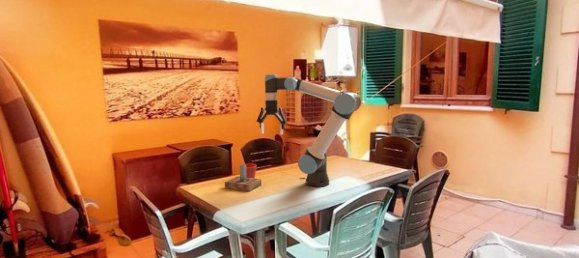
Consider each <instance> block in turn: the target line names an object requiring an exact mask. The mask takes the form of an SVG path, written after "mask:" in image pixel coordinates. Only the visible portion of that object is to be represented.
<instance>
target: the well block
mask: <svg viewBox="0 0 579 258" xmlns="http://www.w3.org/2000/svg"><path fill="white" fill-rule="evenodd" d="M239 180H240V175H239V176H235V177H233V178H231V179H228V180H226V181H224V189H228V190H234V191H235V190H236V191H240V192H241V191H242V192H252V191H253V190H255V189H257V188H259V187H262V179H260V178H256V177H255V178H247V180H249V181H247V182H245V183H244V182H238V181H239Z"/></svg>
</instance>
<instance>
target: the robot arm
mask: <svg viewBox="0 0 579 258" xmlns="http://www.w3.org/2000/svg"><path fill="white" fill-rule="evenodd" d="M278 91H297V92H300V93H302V94H306V95H310V96H313V97H316V98H319V99H322V100H324V101H325V100H326V101H329V102H332V103H333V105H332V107H331V114H330V116H329V118H327V120H326V122H325V124H324V126H323V127H322V129H321V131H320V132H319V134H318V135H317V137H316V139H315V140H314V142H313V144H312V145H311V146H308V147H307V149H305V152H304V153H303V155H301V156H300V157H299V159H298V161H297V166H298V168H299V170H300V171H301V173H303V174H306V178H305V184H306V185H307V186H309V187H315V188H316V187H317V188H319V187H326V186H329V185H330V179H329V175H328V171H327V166H328V163H327V161H328V159H327V158H328V156H327V155H328V151H327V150H328V149H329V147H330V145H331V144H332V142H333V141H334V139H335V137H336V136H337V134H338V132H339V131H340V130H341V128H342V127H343V125H344V124H345V122H346V121H349V120H350V119H351V117H352V115H353V114H354V112H357V111H358V109H359V108H361V104H362V99H361V96H360V95H359V94H357V93H356V92H353V91H347V90H337V89H334V88H331V87H327V86H324V85H320V84H316V83H314V82H311V81H307V80H304V79H301V78H299V77H294V76H293V77H292V76H288V77H285V76H284V77H278V74H275V73H273V74H269V73H268V74H265V75H264V93H265V94H264V99H265V103H264V105H265V106H264V107H260V111H259V115H258V117H257V120H256V122H257V123H259V128H260V134H264V133H265V120H266V118H268V116H270V115H271V116H275V117H276V119H277V120H278V121H279V122H280V124H279V135H281V136H282V135H284V129H285V124H288V121H287V118H286V116H285V113H284V111H283V108H282V107H278Z"/></svg>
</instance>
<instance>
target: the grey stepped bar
mask: <svg viewBox="0 0 579 258" xmlns="http://www.w3.org/2000/svg"><path fill="white" fill-rule="evenodd" d="M245 164H246V163H242V164H239V167H238V168H239V177H240V180H239V181H238V182H244V183H245V182H247V181H249V180H247V176H246V165H245Z"/></svg>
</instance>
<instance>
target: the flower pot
mask: <svg viewBox="0 0 579 258" xmlns="http://www.w3.org/2000/svg"><path fill="white" fill-rule="evenodd" d="M244 164H245V165H246V176H247V178H255V179H256V173H257V164H256V163H244Z"/></svg>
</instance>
